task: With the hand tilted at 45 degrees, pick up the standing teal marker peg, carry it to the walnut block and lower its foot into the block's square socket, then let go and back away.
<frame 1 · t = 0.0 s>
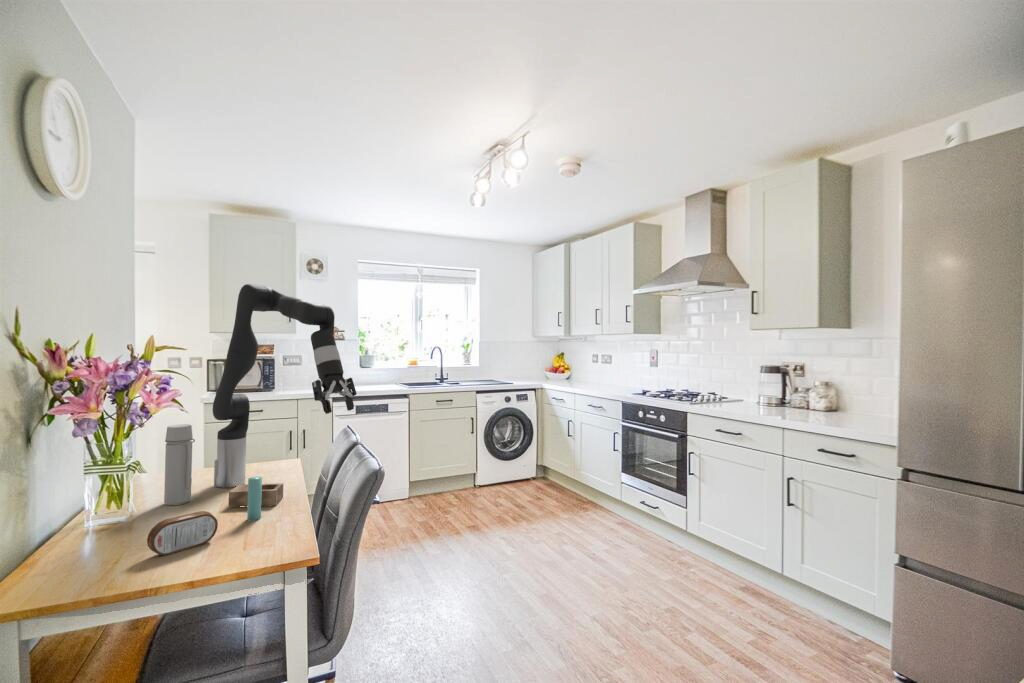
hand: (340, 411, 148), 31 cm above the table, tool tilted 20°, fingers open, 8 cm apart
tin: (184, 549, 120), on the table
socket: (266, 502, 156), on the table
water bottle: (179, 503, 154), on the table
peg: (254, 518, 142), on the table
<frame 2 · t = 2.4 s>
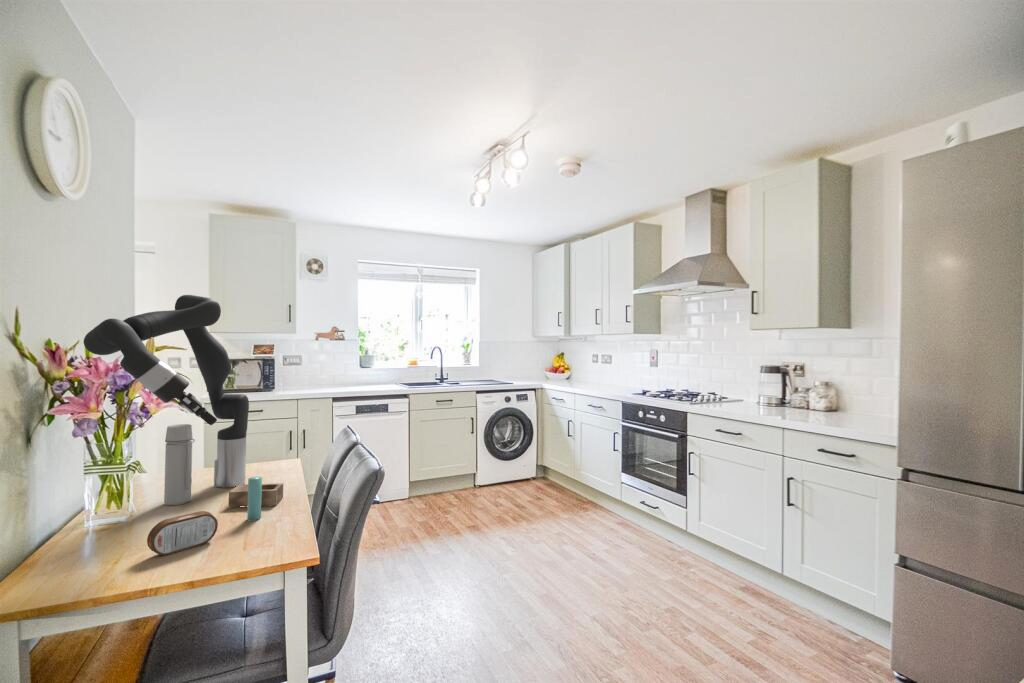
hand: (212, 420, 135), 30 cm above the table, tool tilted 45°, fingers open, 8 cm apart
nothing on the table moved.
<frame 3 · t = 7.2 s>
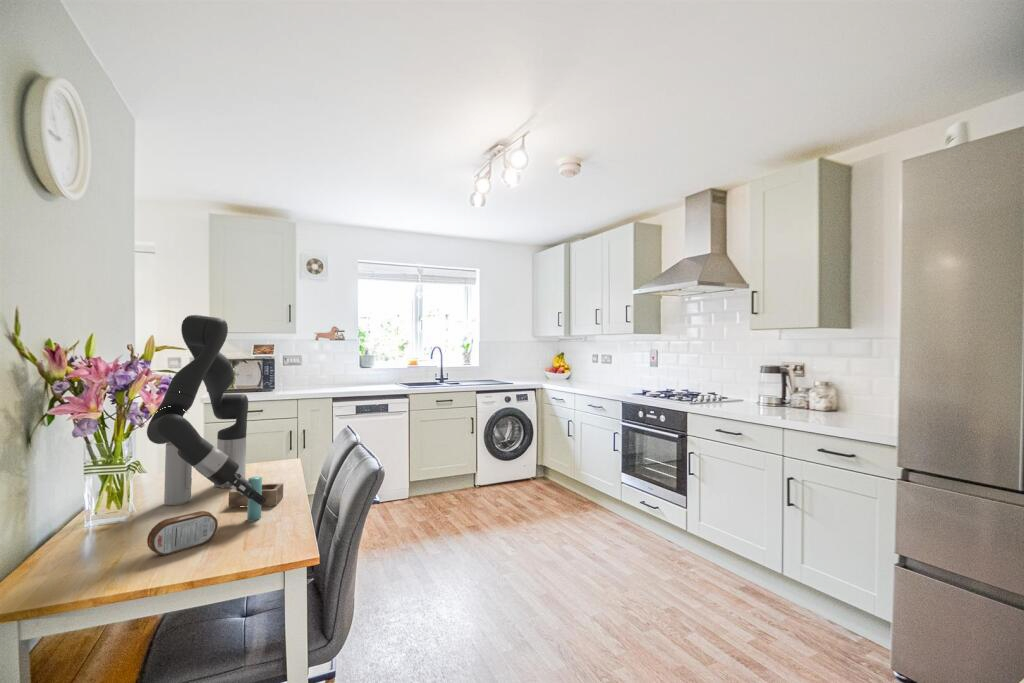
hand: (261, 500, 143), 5 cm above the table, tool tilted 45°, fingers closed on peg, 3 cm apart
peg: (254, 518, 142), on the table, touching gripper
everything else where it was.
when the fingers open (7 cm above the table, at t = 12.9 s): peg drops 2 cm, resting in socket.
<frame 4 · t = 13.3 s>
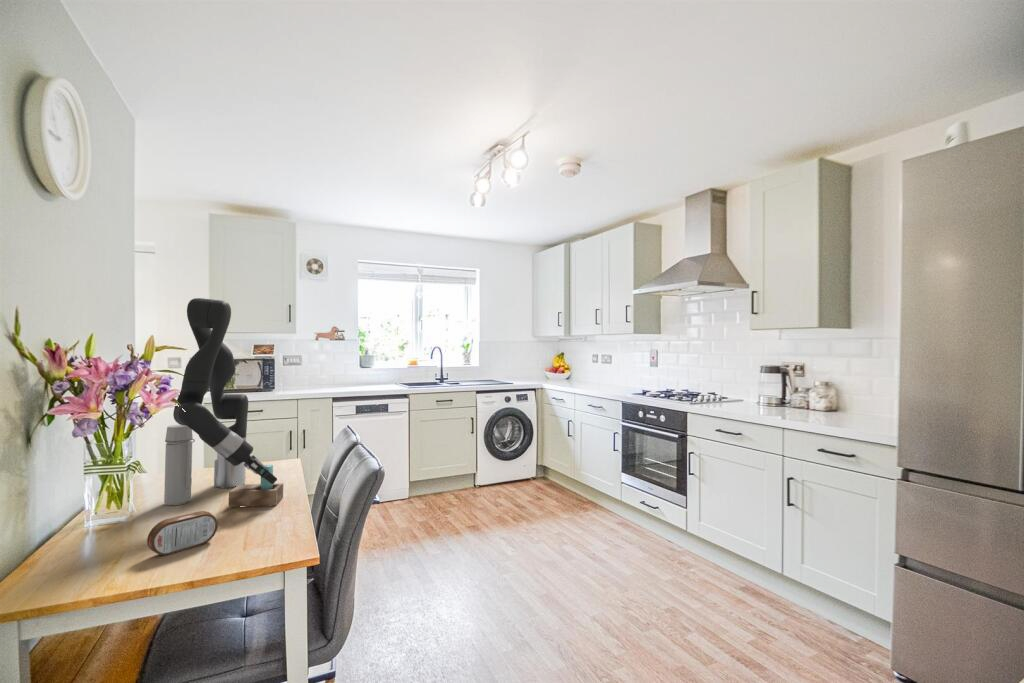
hand: (272, 478, 157), 7 cm above the table, tool tilted 45°, fingers open, 7 cm apart
peg: (266, 502, 156), resting in socket
everything else where it was.
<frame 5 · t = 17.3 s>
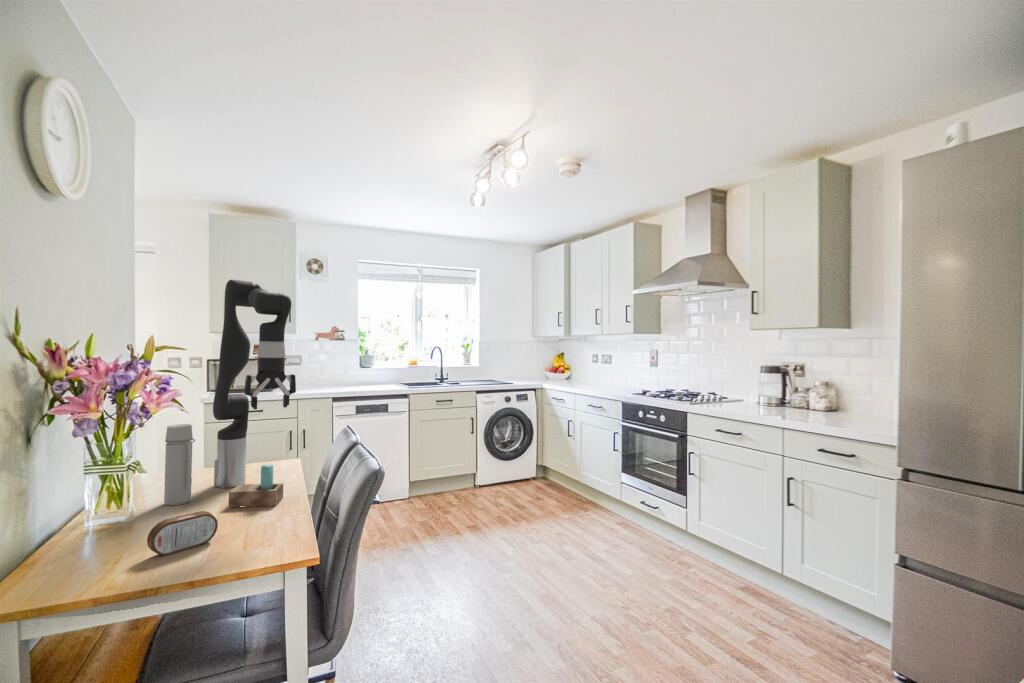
hand: (270, 408, 149), 32 cm above the table, tool pointing down, fingers open, 8 cm apart
nothing on the table moved.
at the end: peg 0.1 cm off-centre on the socket, point 0.0 cm above the socket's base; peg tilted 0°; the gripper is holding nothing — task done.
